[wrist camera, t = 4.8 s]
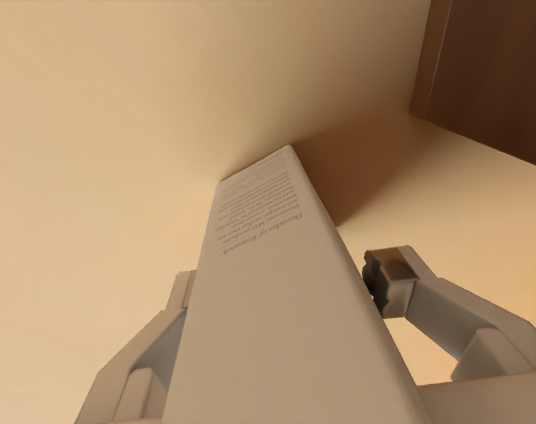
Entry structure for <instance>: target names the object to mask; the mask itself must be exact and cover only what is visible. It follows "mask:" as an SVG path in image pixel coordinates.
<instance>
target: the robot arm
mask: <svg viewBox="0 0 536 424" xmlns="http://www.w3.org/2000/svg"><path fill="white" fill-rule="evenodd" d="M364 259H365V261H366V263H367V264H366V265H365V266H364V267H363V270H362V277H363V281H364V283H365V285H366V287H367V289H368V291H369V293H370V295H372V296H373V297H374V298H373V301H374V303H375V305H376V307H377V309H378V311H379V313H380V315H381V317H382V319H387V318H398V317H405V318H406V319H407V320H408V321H409V322H411V323H412V324H413V325H414V326H415V327H417V328H418V329H419V330H420V331H422V332H423V333H424V334H425V335H427V336H428V337H429V338H430V339H432V340H433V341H434V342H435V343H436V344H438V345H439V346H440V347H441V348H443V349H444V350H445V351H446V352H448V353H449V354H450V355H451V356H453V357H454V358H455V359H456V360H457V361H458V363H457V365H456V366H455V368H454V370H453V372H452V374H451V379H452V382H444V383H435V384H427V385H419V386H415V387H416V389H417V391H418V394H419V396H420V398H421V400H422V402H423V404H424V406H425V408H426V410H427V412H428V414H429V417H430V419H431V421H432V423H433V424H536V328H535V327H534V326H533V325H532V324H531V323H530V322H529V321H527V320H525V319H523V318H521V317H519V316H517V315H515V314H513V313H511V312H509V311H507V310H505V309H503V308H501V307H499V306H497V305H495V304H493V303H491V302H489V301H487V300H485V299H483V298H481V297H479V296H477V295H475V294H473V293H471V292H469V291H467V290H465V289H463V288H461V287H459V286H457V285H455V284H454V283H452V282H450V281H448V280H446V279H444V278H437V277H436V276H435V274H434V273H433V272H432V271H431V270H430V268H429V267H428V266H427V265H426V264H425V263H424V261H423V260H422V259H421V258H420V257H419V255H418V254H417V253H416V252H415V251H414V249H413V248H412V247H411V246H409V245H406V246H398V247H391V248H383V249H375V250H367V251H366V252H365V256H364ZM196 271H197V270H193V271H184V272H179V273H178V274H177V275H176V278H175V281H174V284H173V288H172V291H171V294H170V297H169V300H168V303H167V306H166V309H165V310H163V311H160V312H159V313H158V314H157V315H156V316H155V317H154V318H153V319H152V320H151V321H150V322H149V323H148V324H147V325H146V326H145V327H144V328H143V329H142V330H141V331H140V332H139V333H138V334H137V335H136V336H135V337H134V338H133V339H132V340H131V341H130V342H129V343H128V344H127V345H126V346H124V347H123V348H122V349H121V350H120V351H119V352H118V353H117V354H116V355H115V356H114V357H113V358H112V359H111V360H110V361H109V362H108V363H107V364H106V365H105V366H104V367H103V368H102V369H101V370H100V371H99V372H98V374H97V376H96V378H95V380H94V382H93V385H92V387H91V389H90V391H89V393H88V395H87V397H86V400H85V402H84V404H83V406H82V408H81V410H80V412H79V415H78V417H77V419H76V421H75V423H74V424H161V420H162V416H163V412H164V408H165V403H166V399H167V395H168V391H169V386H170V382H171V378H172V374H173V369H174V365H175V361H176V357H177V352H178V348H179V344H180V339H181V335H182V331H183V327H184V323H185V319H186V314H187V309H188V305H189V300H190V296H191V292H192V287H193V283H194V279H195V275H196Z"/></svg>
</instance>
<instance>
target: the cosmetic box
mask: <svg viewBox="0 0 536 424" xmlns="http://www.w3.org/2000/svg"><path fill="white" fill-rule="evenodd" d="M415 386H416V384H415V382H414V380H413V378H412V376H411V374H410V372H409V370H408V368H407V366H406V364H405V362H404V360H403V358H402V356H401V354H400V352H399V350H398V348H397V346H396V344H395V342H394V340H393V338H392V336H391V334H390V332H389V330H388V329H387V327H386V325H385V323H384V321H383V319H382V317H381V315H380V313H379V311H378V309H377V307H376V305H375V303H374V301H373V299H372V297H371V295H370V293H369V291H368V289H367V287H366V285H365V283H364V281H363V279H362V277H361V275H360V273H359V271H358V269H357V267H356V265H355V263H354V261H353V260H352V258H351V256H350V254H349V252H348V250H347V248H346V246H345V244H344V242H343V240H342V238H341V236H340V235H339V233H338V231H337V229H336V227H335V225H334V223H333V222H332V220H331V218H330V216H329V214H328V212H327V210H326V208H325V206H324V205H323V203H322V201H321V199H320V197H319V196H318V194H317V192H316V190H315V188H314V186H313V184H312V183H311V181H310V179H309V177H308V175H307V173H306V172H305V170H304V168H303V166H302V164H301V162H300V160H299V158H298V157H297V155H296V153H295V151H294V149H293V147H292V145H286V146H284V147H282V148H280V149H279V150H277V151H275V152H274V153H272V154H270V155H268V156H267V157H265V158H263V159H261V160H260V161H258V162H256V163H254V164H253V165H251V166H249V167H247V168H245V169H243V170H242V171H240V172H238V173H236V174H234V175H233V176H231V177H229V178H227V179H225V180H224V181H222V182H220V183H218V184H217V186H216V189H215V193H214V197H213V202H212V206H211V210H210V214H209V219H208V223H207V227H206V232H205V236H204V240H203V245H202V249H201V253H200V258H199V262H198V266H197V271H196V275H195V279H194V283H193V287H192V292H191V296H190V300H189V305H188V309H187V314H186V319H185V323H184V327H183V331H182V335H181V339H180V344H179V348H178V352H177V357H176V361H175V365H174V369H173V374H172V378H171V382H170V386H169V391H168V395H167V399H166V403H165V408H164V412H163V416H162V420H161V424H433V423H432V421H431V419H430V417H429V414H428V412H427V410H426V408H425V406H424V404H423V402H422V400H421V398H420V396H419V394H418V391H417V389H416V387H415Z"/></svg>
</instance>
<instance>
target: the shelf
mask: <svg viewBox="0 0 536 424" xmlns="http://www.w3.org/2000/svg"><path fill="white" fill-rule="evenodd" d="M409 114H410V115H412V116H415V117H417V118H420V119H422V120H425V121H427V122H430V123H432V124H435V125H437V126H439V127H442V128H444V129H447V130H449V131H452V132H454V133H457V134H459V135H462V136H464V137H467V138H469V139H472V140H474V141H477V142H479V143H482V144H484V145H486V146H489V147H491V148H494V149H496V150H499V151H501V152H504V153H506V154H509V155H511V156H514V157H516V158H519V159H521V160H524V161H526V162H529V163H531V164H533V165H536V0H431V5H430V10H429V15H428V20H427V25H426V30H425V35H424V40H423V46H422V51H421V56H420V61H419V66H418V71H417V76H416V81H415V87H414V92H413V97H412V102H411V107H410V112H409Z"/></svg>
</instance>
